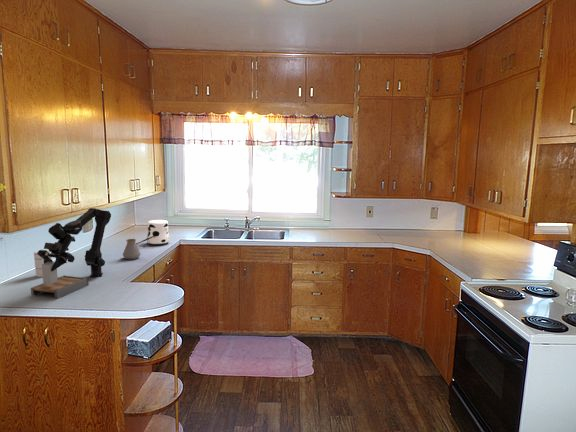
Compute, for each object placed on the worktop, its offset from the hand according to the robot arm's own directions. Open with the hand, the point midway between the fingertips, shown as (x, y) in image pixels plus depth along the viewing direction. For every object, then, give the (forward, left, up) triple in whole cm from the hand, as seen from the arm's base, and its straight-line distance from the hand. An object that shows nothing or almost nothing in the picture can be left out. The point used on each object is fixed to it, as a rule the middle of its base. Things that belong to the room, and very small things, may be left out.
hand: (47, 270), depth 202 cm
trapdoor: (-5, +3, -12) cm, 14 cm away
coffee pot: (-65, +41, -13) cm, 78 cm away
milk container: (-105, +54, -13) cm, 119 cm away
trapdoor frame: (-6, +4, -13) cm, 15 cm away
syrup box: (-36, -11, -13) cm, 40 cm away
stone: (-1, +1, -7) cm, 7 cm away
